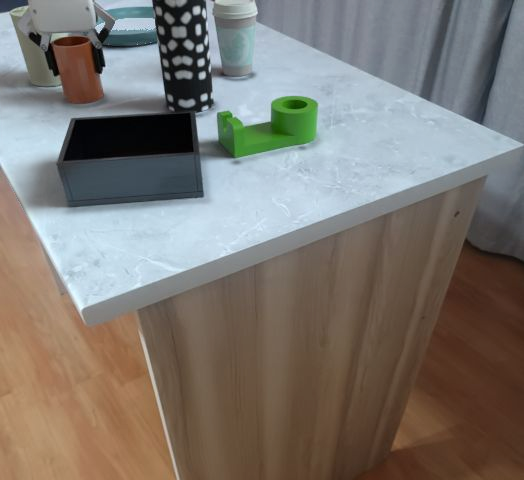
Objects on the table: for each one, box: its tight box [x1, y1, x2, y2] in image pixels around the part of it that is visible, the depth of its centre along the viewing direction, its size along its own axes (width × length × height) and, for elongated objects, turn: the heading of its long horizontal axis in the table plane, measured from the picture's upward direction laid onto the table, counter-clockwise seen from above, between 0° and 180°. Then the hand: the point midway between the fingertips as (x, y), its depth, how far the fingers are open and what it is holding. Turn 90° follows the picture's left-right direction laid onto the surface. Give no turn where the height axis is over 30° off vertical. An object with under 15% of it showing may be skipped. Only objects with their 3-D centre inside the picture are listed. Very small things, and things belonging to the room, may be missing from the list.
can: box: [9, 5, 69, 87], centre depth 97 cm, size 9×9×12 cm
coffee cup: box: [211, 0, 259, 77], centre depth 99 cm, size 8×9×12 cm
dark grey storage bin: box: [55, 110, 205, 208], centre depth 70 cm, size 17×14×6 cm
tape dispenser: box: [216, 95, 319, 159], centre depth 79 cm, size 15×7×5 cm, turn 115°
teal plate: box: [82, 6, 158, 47], centre depth 122 cm, size 24×24×3 cm
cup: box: [51, 35, 105, 104], centre depth 91 cm, size 7×7×9 cm
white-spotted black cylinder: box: [151, 0, 215, 113], centre depth 84 cm, size 8×8×20 cm
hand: (78, 71), depth 91 cm, fingers closed on cup, 6 cm apart
